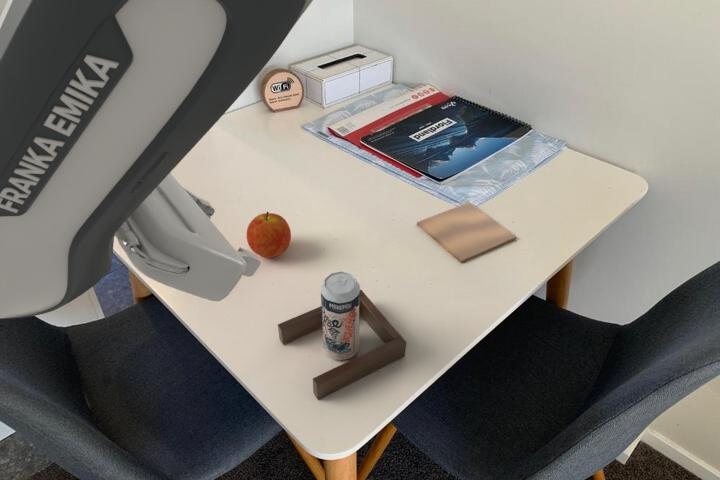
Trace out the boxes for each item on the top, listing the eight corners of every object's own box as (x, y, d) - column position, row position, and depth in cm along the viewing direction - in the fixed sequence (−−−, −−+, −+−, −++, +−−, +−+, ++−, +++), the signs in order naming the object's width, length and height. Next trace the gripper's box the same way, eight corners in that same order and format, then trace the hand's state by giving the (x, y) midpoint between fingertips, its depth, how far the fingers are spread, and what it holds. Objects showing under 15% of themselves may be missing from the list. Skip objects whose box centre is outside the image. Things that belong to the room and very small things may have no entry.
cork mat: (515, 239, 88) (516, 236, 88) (461, 263, 84) (461, 260, 83) (469, 204, 96) (469, 201, 96) (416, 224, 91) (417, 221, 91)
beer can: (317, 355, 69) (313, 290, 61) (331, 330, 72) (329, 265, 65) (351, 366, 68) (351, 301, 60) (364, 339, 71) (365, 274, 64)
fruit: (269, 272, 81) (264, 232, 76) (240, 253, 85) (233, 214, 80) (301, 250, 85) (298, 211, 80) (272, 233, 89) (267, 194, 84)
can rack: (405, 356, 69) (406, 341, 67) (317, 400, 64) (316, 385, 62) (360, 303, 76) (361, 289, 74) (279, 339, 71) (277, 324, 69)
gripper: (160, 215, 31) (307, 272, 42) (73, 97, 44) (204, 164, 55) (105, 299, 32) (263, 333, 43) (35, 159, 45) (171, 213, 55)
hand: (229, 237), depth 49 cm, fingers open, 8 cm apart
